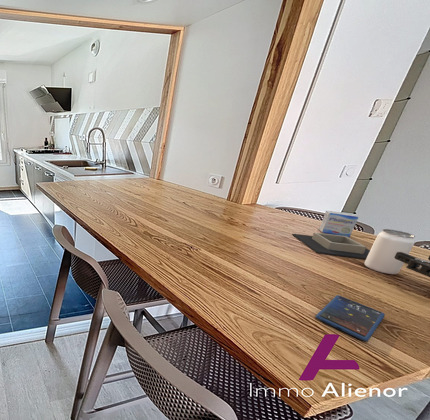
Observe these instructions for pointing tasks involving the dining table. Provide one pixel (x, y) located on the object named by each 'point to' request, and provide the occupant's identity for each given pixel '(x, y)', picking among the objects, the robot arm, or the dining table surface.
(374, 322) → the smartphone
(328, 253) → the pad
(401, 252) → the robot arm
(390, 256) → the can
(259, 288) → the dining table surface
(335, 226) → the medicine box
